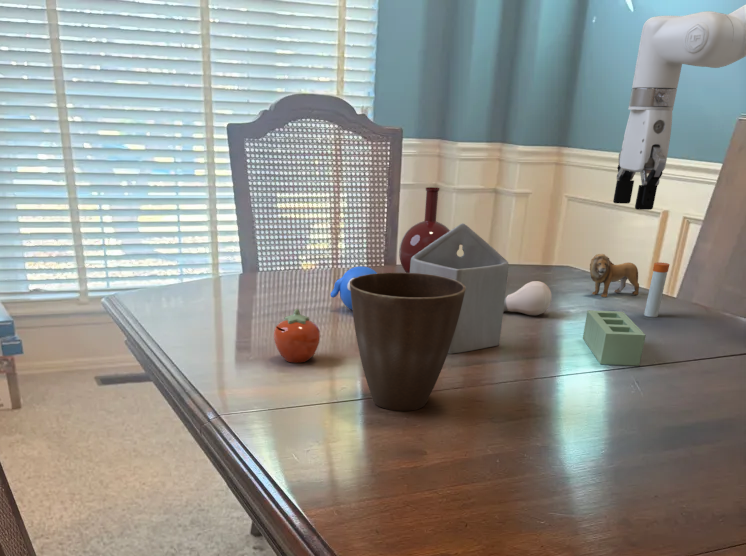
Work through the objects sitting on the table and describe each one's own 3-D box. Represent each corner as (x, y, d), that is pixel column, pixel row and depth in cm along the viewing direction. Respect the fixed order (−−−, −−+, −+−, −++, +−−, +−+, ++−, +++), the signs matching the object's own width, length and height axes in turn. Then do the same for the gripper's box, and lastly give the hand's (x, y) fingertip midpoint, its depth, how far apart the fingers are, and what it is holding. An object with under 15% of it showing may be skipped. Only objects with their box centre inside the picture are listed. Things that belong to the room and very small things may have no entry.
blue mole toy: (330, 320, 146) (331, 274, 142) (329, 305, 157) (330, 262, 152) (393, 320, 147) (396, 275, 143) (388, 306, 157) (390, 263, 153)
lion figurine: (595, 300, 166) (603, 256, 162) (578, 295, 170) (585, 252, 166) (645, 294, 172) (654, 252, 167) (627, 289, 176) (636, 248, 172)
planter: (401, 350, 129) (408, 227, 120) (405, 338, 136) (413, 220, 126) (499, 357, 127) (514, 232, 117) (499, 344, 134) (513, 225, 124)
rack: (582, 338, 138) (587, 310, 136) (617, 339, 138) (623, 311, 136) (600, 364, 125) (606, 333, 122) (639, 365, 124) (645, 335, 122)
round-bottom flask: (391, 276, 184) (396, 185, 174) (444, 275, 186) (452, 185, 176) (405, 288, 173) (411, 191, 163) (461, 287, 175) (470, 191, 165)
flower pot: (476, 404, 107) (489, 285, 99) (404, 430, 98) (413, 302, 90) (396, 378, 116) (402, 268, 108) (324, 400, 107) (325, 281, 99)
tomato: (268, 355, 126) (267, 305, 122) (311, 351, 128) (311, 302, 124) (281, 368, 120) (280, 316, 116) (326, 363, 122) (327, 312, 118)
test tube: (656, 314, 156) (667, 262, 151) (659, 317, 153) (671, 265, 148) (641, 313, 156) (652, 262, 151) (645, 317, 154) (656, 264, 149)
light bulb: (490, 288, 151) (547, 277, 147) (496, 289, 157) (551, 278, 153) (494, 323, 153) (551, 312, 148) (500, 322, 158) (555, 312, 154)
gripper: (696, 101, 128) (672, 212, 137) (650, 101, 143) (631, 201, 152) (653, 100, 128) (632, 211, 136) (611, 100, 143) (595, 200, 151)
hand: (632, 206), depth 144 cm, fingers open, 9 cm apart
